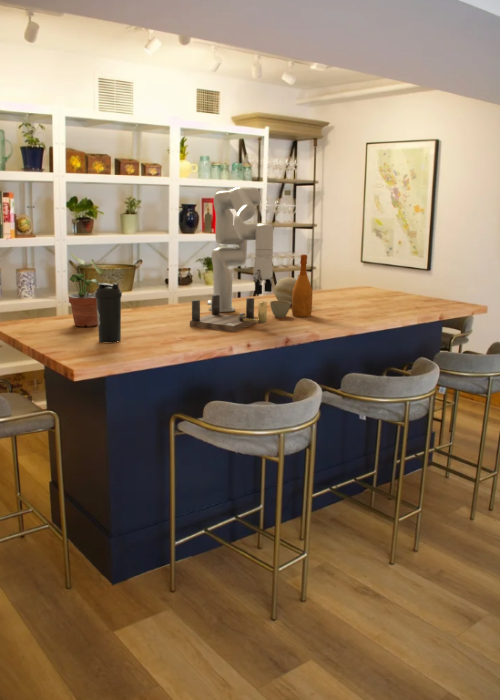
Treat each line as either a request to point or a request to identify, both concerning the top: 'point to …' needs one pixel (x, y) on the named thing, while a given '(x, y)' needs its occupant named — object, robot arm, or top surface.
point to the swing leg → (261, 314)
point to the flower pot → (280, 308)
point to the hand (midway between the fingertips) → (263, 292)
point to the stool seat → (220, 316)
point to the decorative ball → (285, 289)
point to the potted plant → (84, 298)
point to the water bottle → (109, 312)
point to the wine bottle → (302, 292)
